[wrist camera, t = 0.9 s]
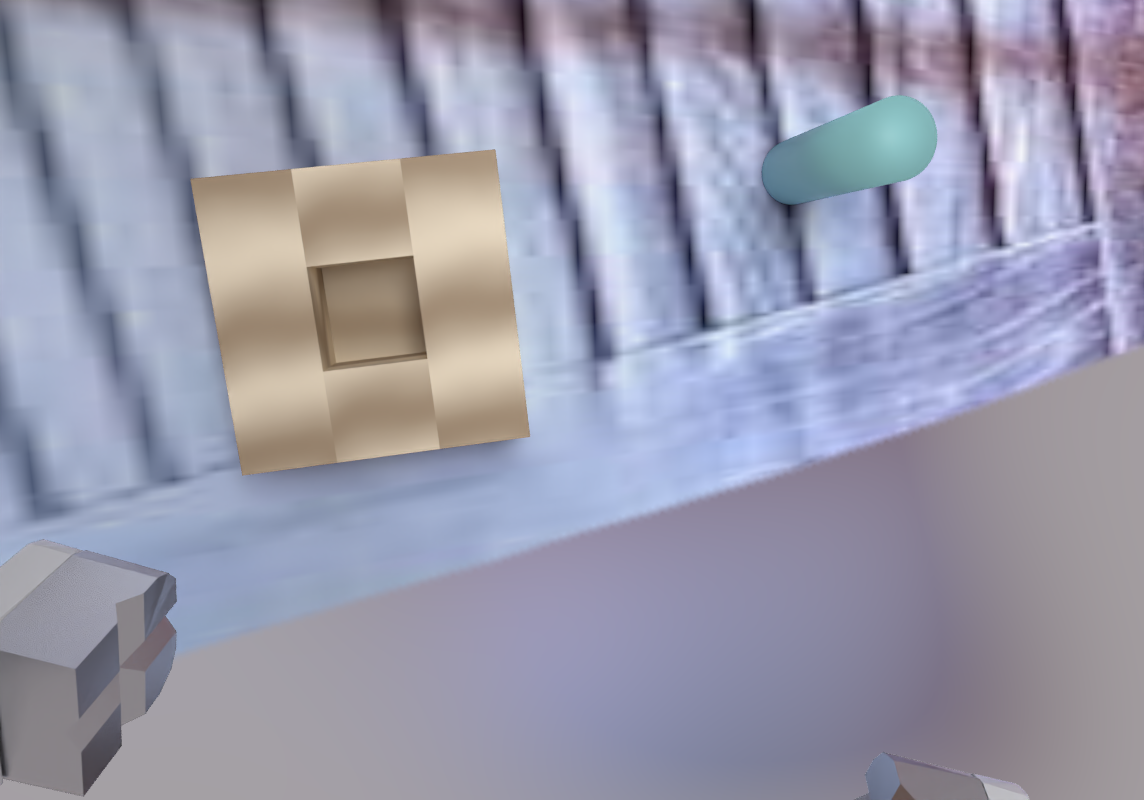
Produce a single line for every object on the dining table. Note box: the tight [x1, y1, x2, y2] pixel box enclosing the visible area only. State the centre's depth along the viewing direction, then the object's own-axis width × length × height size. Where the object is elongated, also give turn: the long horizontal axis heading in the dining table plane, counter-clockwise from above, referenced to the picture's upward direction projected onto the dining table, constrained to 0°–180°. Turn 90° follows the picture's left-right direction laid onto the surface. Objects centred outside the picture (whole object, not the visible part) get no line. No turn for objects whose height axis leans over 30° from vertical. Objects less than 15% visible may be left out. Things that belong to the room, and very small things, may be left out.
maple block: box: [191, 150, 530, 476], centre depth 44 cm, size 14×14×6 cm
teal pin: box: [762, 96, 937, 205], centre depth 43 cm, size 4×4×12 cm
